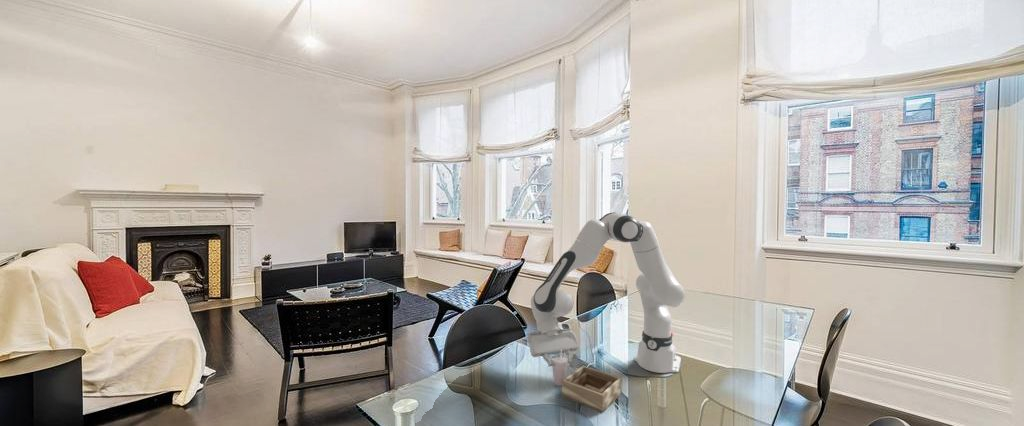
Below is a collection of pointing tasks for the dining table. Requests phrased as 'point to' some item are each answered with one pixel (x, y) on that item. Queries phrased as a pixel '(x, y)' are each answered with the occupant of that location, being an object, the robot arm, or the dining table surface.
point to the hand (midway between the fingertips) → (560, 364)
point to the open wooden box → (592, 388)
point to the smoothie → (559, 368)
